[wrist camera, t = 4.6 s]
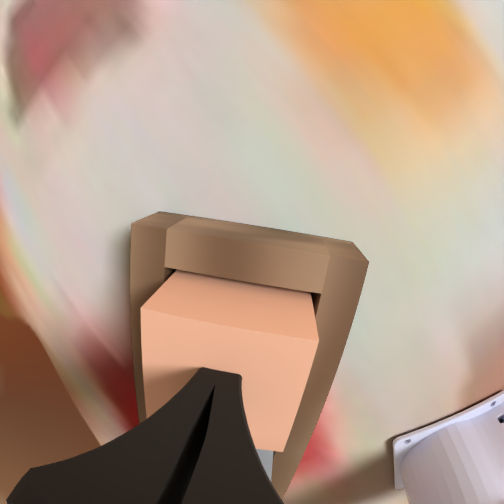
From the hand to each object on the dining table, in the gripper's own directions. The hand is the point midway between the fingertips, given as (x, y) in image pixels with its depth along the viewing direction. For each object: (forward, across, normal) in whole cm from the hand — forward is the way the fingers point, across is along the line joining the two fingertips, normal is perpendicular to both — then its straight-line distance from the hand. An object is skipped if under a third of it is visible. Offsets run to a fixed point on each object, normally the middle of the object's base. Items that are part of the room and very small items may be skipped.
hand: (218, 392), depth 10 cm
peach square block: (+5, 0, 0) cm, 5 cm away
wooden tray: (+6, 0, +8) cm, 10 cm away
